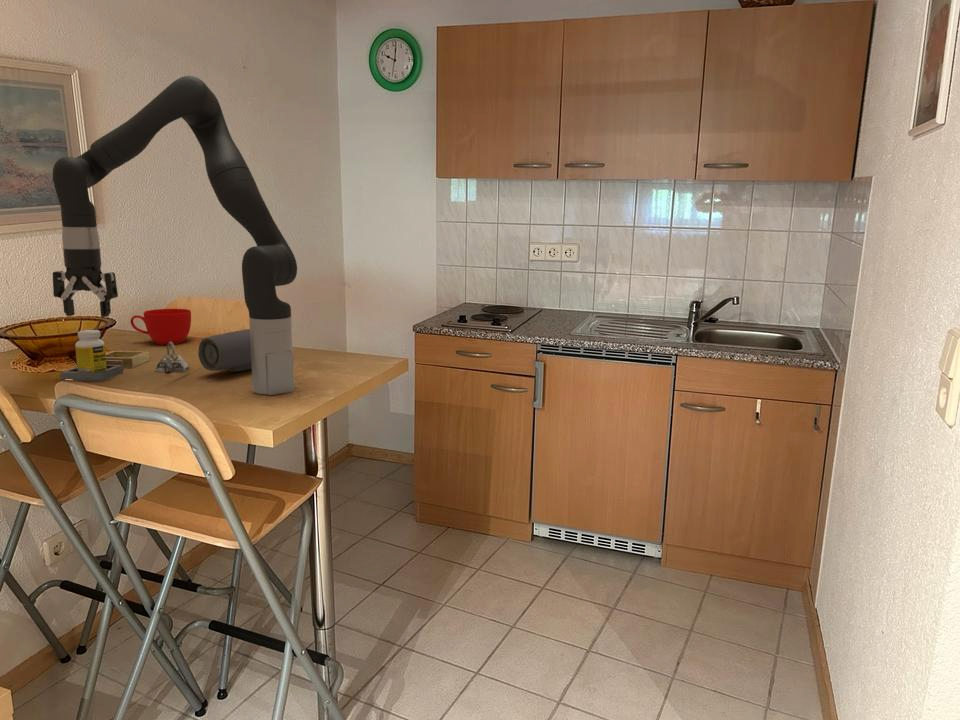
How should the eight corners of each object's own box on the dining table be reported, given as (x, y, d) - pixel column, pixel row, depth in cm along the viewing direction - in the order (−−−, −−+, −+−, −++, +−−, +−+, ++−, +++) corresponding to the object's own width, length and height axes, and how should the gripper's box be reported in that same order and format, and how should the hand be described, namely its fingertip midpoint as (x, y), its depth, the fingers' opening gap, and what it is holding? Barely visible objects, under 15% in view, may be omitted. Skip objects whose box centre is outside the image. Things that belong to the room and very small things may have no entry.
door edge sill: (123, 369, 181) (122, 360, 180) (121, 370, 179) (120, 361, 179) (87, 369, 180) (86, 359, 180) (85, 370, 179) (84, 360, 179)
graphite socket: (122, 373, 177) (122, 365, 177) (100, 381, 168) (99, 373, 167) (85, 371, 178) (84, 363, 177) (61, 380, 168) (60, 372, 168)
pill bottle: (98, 380, 169) (94, 333, 167) (72, 379, 170) (68, 333, 167) (112, 374, 176) (108, 329, 173) (87, 373, 176) (83, 329, 173)
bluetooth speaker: (222, 378, 173) (220, 337, 171) (198, 373, 178) (195, 333, 176) (293, 363, 192) (292, 326, 190) (269, 359, 197) (267, 322, 195)
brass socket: (149, 360, 192) (148, 351, 191) (132, 368, 183) (132, 358, 182) (113, 360, 192) (113, 350, 191) (95, 367, 183) (94, 357, 182)
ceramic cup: (138, 341, 220) (135, 308, 218) (196, 340, 223) (194, 308, 221) (126, 349, 207) (123, 314, 205) (188, 348, 210) (185, 314, 208)
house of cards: (139, 377, 174) (136, 346, 173) (155, 369, 183) (152, 340, 181) (176, 377, 174) (174, 346, 173) (190, 370, 183) (188, 340, 181)
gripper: (120, 246, 170) (125, 314, 173) (62, 245, 171) (68, 313, 174) (101, 248, 162) (107, 319, 166) (41, 246, 163) (48, 317, 167)
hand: (87, 316), depth 170 cm, fingers open, 8 cm apart
